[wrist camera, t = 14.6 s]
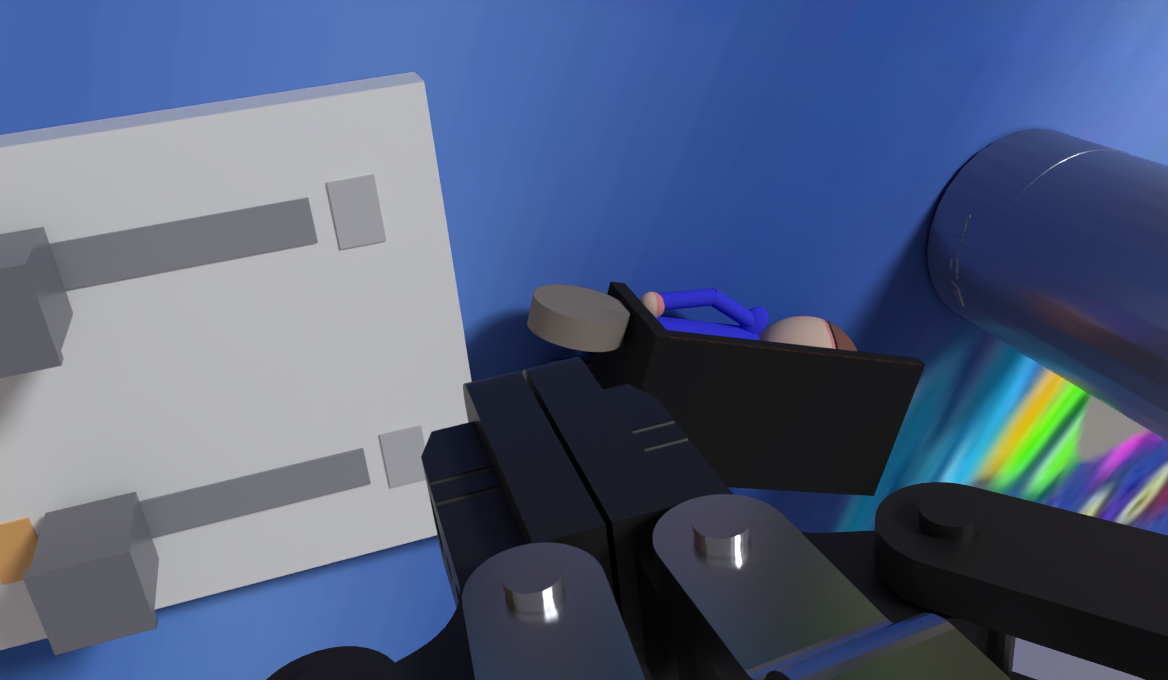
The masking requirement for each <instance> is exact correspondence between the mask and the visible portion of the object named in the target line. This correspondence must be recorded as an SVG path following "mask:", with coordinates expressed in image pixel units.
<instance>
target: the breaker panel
mask: <svg viewBox="0 0 1168 680" xmlns="http://www.w3.org/2000/svg"><path fill="white" fill-rule="evenodd" d="M39 227H44V229H45V232H46V235H47V238H48V241H49V244H50V247H51V250H52V253H53V256H54V258H55V261H56V264H57V267H58V270H59V273H60V276H61V279H62V282H63V285H64V288H65V291H66V294H67V296H68V299H69V302H70V305H71V308H72V311H73V316H72V319H71V322H70V325H69V328H68V331H67V334H66V337H65V340H64V343H63V346H62V349H61V352H62V355H63V358H64V360H63V363H62V366H58V367H53V368H48V369H43V370H38V371H33V372H29V373H24V374H19V375H14V376H9V377H4V378H0V650H4V649H7V648H11V647H15V646H19V645H23V644H26V643H30V642H34V641H38V640H41V639H45V638H47V635H46V633H45V630H44V628H43V626H42V623H41V621H40V618H39V616H38V614H37V611H36V609H35V607H34V604H33V602H32V599H31V597H30V595H29V592H28V590H27V587H26V585H25V583H24V580H23V575H24V572H25V569H27V568H31V564H32V560H33V557H34V553H35V549H36V546H37V542H38V538H39V535H40V531H41V527H42V524H43V520H44V516H45V513H47V512H52V511H56V510H60V509H64V508H69V507H73V506H77V505H81V504H86V503H90V502H94V501H98V500H102V499H107V498H111V497H115V496H119V495H124V494H128V493H132V492H136V493H137V496H138V499H139V502H140V505H141V508H142V510H143V513H144V516H145V519H146V522H147V525H148V528H149V531H150V534H151V537H152V540H153V543H154V546H155V548H156V551H157V554H158V557H159V566H158V577H157V588H156V599H155V609H159V608H163V607H167V606H170V605H174V604H178V603H182V602H185V601H189V600H193V599H197V598H201V597H204V596H208V595H212V594H216V593H220V592H223V591H227V590H231V589H235V588H239V587H242V586H246V585H250V584H254V583H257V582H261V581H265V580H269V579H273V578H276V577H280V576H284V575H288V574H292V573H295V572H299V571H303V570H307V569H311V568H314V567H318V566H322V565H326V564H329V563H333V562H337V561H341V560H345V559H348V558H352V557H356V556H360V555H364V554H367V553H371V552H375V551H379V550H382V549H386V548H390V547H394V546H398V545H401V544H405V543H409V542H413V541H417V540H420V539H424V538H428V537H432V536H436V535H437V530H436V526H435V521H434V516H433V511H432V507H431V502H430V497H429V492H428V488H427V483H426V478H425V473H424V468H423V464H422V459H421V456H422V454H423V451H424V449H425V446H426V444H427V441H428V439H429V437H430V434H431V432H432V431H436V430H440V429H444V428H448V427H452V426H456V425H460V424H464V423H468V417H467V412H466V406H465V401H464V394H463V384H464V383H468V382H472V381H471V375H470V369H469V362H468V356H467V350H466V343H465V337H464V331H463V324H462V318H461V312H460V305H459V299H458V293H457V286H456V280H455V274H454V268H453V261H452V255H451V249H450V242H449V236H448V230H447V223H446V217H445V211H444V204H443V198H442V192H441V186H440V179H439V173H438V167H437V160H436V154H435V148H434V141H433V135H432V129H431V122H430V116H429V110H428V104H427V97H426V91H425V85H424V81H423V80H422V79H421V78H420V77H419V76H418V75H417V74H416V73H415V72H409V73H402V74H395V75H389V76H382V77H376V78H369V79H363V80H356V81H350V82H343V83H337V84H330V85H324V86H317V87H311V88H304V89H297V90H291V91H284V92H278V93H271V94H265V95H258V96H252V97H245V98H239V99H232V100H226V101H219V102H212V103H206V104H199V105H193V106H186V107H180V108H173V109H167V110H160V111H154V112H147V113H141V114H134V115H128V116H121V117H114V118H108V119H101V120H95V121H88V122H82V123H75V124H69V125H62V126H56V127H49V128H43V129H36V130H29V131H23V132H16V133H10V134H3V135H0V234H4V233H10V232H16V231H22V230H27V229H33V228H39Z"/></svg>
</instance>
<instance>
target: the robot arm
mask: <svg viewBox="0 0 1168 680" xmlns="http://www.w3.org/2000/svg"><path fill="white" fill-rule="evenodd" d="M927 252H928V269H929V273H930V277H931V281H932V284H933V287H934V288H935V290H936V292H937V294H938V296H939V297H940V299H941V300H942V301H943V302H944V303H945V304H946V305H947V306H948V307H949V308H950V309H951V310H952V311H953V312H955V313H957V314H958V315H960V316H962V317H963V318H965V319H967V320H968V321H970V322H972V323H973V324H975V325H977V326H978V327H980V328H981V329H983V330H985V331H986V332H988V333H990V334H991V335H993V336H995V337H996V338H998V339H1000V340H1001V341H1003V342H1005V343H1006V344H1008V345H1009V346H1011V347H1012V348H1014V349H1015V350H1017V351H1019V352H1020V353H1022V354H1024V355H1025V356H1027V357H1029V358H1030V359H1032V360H1034V361H1035V362H1037V363H1039V364H1040V365H1042V366H1044V367H1045V368H1047V369H1049V370H1050V371H1052V372H1054V373H1055V374H1057V375H1059V376H1060V377H1062V378H1064V379H1065V380H1067V381H1069V382H1070V383H1072V384H1074V385H1075V386H1077V387H1079V388H1080V389H1082V390H1084V391H1085V392H1087V393H1089V394H1090V395H1092V396H1094V397H1095V398H1097V399H1099V400H1100V401H1102V402H1104V403H1105V404H1107V405H1109V406H1110V407H1112V408H1114V409H1115V410H1117V411H1119V412H1120V413H1122V414H1124V415H1125V416H1127V417H1128V418H1130V419H1132V420H1134V421H1135V422H1137V423H1139V424H1140V425H1142V426H1143V427H1145V428H1147V429H1148V430H1150V431H1152V432H1153V433H1155V434H1157V435H1158V436H1160V437H1162V438H1163V439H1165V440H1167V441H1168V166H1166V165H1162V164H1159V163H1156V162H1153V161H1150V160H1146V159H1143V158H1140V157H1137V156H1133V155H1130V154H1128V153H1125V152H1122V151H1118V150H1115V149H1112V148H1108V147H1105V146H1102V145H1099V144H1095V143H1092V142H1089V141H1086V140H1083V139H1079V138H1076V137H1073V136H1070V135H1066V134H1063V133H1060V132H1057V131H1054V130H1044V129H1031V130H1025V131H1020V132H1015V133H1013V134H1011V135H1008V136H1006V137H1003V138H1001V139H999V140H997V141H995V142H994V143H992V144H991V145H989V146H988V147H986V148H985V149H983V150H982V151H980V152H979V153H978V154H977V155H976V156H975V157H973V158H972V159H971V160H970V161H969V162H968V163H967V164H966V165H965V166H964V167H963V168H962V169H961V171H960V172H959V173H958V175H957V176H956V177H955V178H954V180H953V181H952V182H951V184H950V185H949V186H948V188H947V190H946V192H945V194H944V196H943V198H942V199H941V201H940V203H939V205H938V207H937V210H936V213H935V216H934V219H933V222H932V225H931V228H930V234H929V241H928V247H927ZM463 394H464V401H465V406H466V412H467V417H468V423H464V424H460V425H456V426H452V427H448V428H444V429H440V430H436V431H432V432H431V434H430V437H429V439H428V441H427V444H426V446H425V449H424V451H423V454H422V456H421V459H422V464H423V468H424V473H425V478H426V483H427V488H428V492H429V497H430V502H431V507H432V511H433V516H434V521H435V526H436V530H437V535H438V540H439V545H440V549H441V554H442V558H443V562H444V565H445V569H446V572H447V576H448V579H449V583H450V586H451V590H452V593H453V597H454V600H455V604H456V607H457V609H456V611H455V613H454V615H453V617H452V618H451V620H450V621H449V622H448V624H447V625H446V627H445V628H444V629H443V630H442V631H441V632H440V633H439V634H438V635H437V636H436V637H435V638H433V639H432V640H431V641H430V642H428V643H427V644H426V645H424V646H423V647H421V648H420V649H418V650H417V651H415V652H413V653H412V654H410V655H408V656H406V657H405V658H403V659H401V660H399V661H397V662H396V663H395V662H394V661H392V660H391V659H390V658H389V657H388V656H386V655H384V654H382V653H380V652H378V651H375V650H372V649H369V648H363V647H356V646H342V647H334V648H328V649H324V650H320V651H316V652H313V653H310V654H308V655H305V656H302V657H300V658H298V659H296V660H294V661H292V662H290V663H288V664H287V665H285V666H284V667H282V668H280V669H279V670H277V671H276V672H275V673H274V674H272V675H271V676H270V677H269V678H267V679H266V680H1036V679H1033V678H1030V677H1028V676H1025V675H1022V674H1019V673H1016V672H1013V671H1012V667H1013V657H1014V647H1015V638H1016V637H1017V638H1020V639H1023V640H1026V641H1029V642H1032V643H1035V644H1038V645H1041V646H1045V647H1047V648H1051V649H1054V650H1057V651H1060V652H1063V653H1066V654H1069V655H1072V656H1076V657H1078V658H1082V659H1085V660H1088V661H1091V662H1094V663H1097V664H1100V665H1103V666H1107V667H1109V668H1113V669H1116V670H1119V671H1122V672H1125V673H1128V674H1131V675H1134V676H1137V677H1140V678H1142V679H1145V680H1168V536H1167V535H1163V534H1159V533H1155V532H1151V531H1147V530H1143V529H1139V528H1135V527H1131V526H1127V525H1123V524H1119V523H1115V522H1111V521H1107V520H1103V519H1099V518H1095V517H1091V516H1087V515H1083V514H1079V513H1075V512H1071V511H1067V510H1063V509H1059V508H1055V507H1051V506H1047V505H1043V504H1039V503H1036V502H1032V501H1028V500H1024V499H1020V498H1016V497H1012V496H1008V495H1004V494H1000V493H996V492H992V491H988V490H984V489H980V488H976V487H972V486H967V485H962V484H956V483H946V482H932V483H921V484H916V485H911V486H908V487H905V488H902V489H900V490H897V491H895V492H893V493H892V494H890V495H889V496H888V497H886V498H885V499H884V500H883V501H882V502H881V503H880V505H879V507H878V509H877V511H876V516H875V531H855V532H836V533H807V532H800V531H799V530H798V529H797V528H796V527H795V526H794V525H793V524H792V523H791V522H790V521H789V520H788V519H787V518H786V517H785V516H784V515H783V514H782V513H781V512H779V511H778V510H777V509H776V508H774V507H772V506H771V505H769V504H767V503H765V502H763V501H760V500H758V499H754V498H750V497H747V496H740V495H733V494H732V493H731V491H730V490H729V489H728V487H727V486H726V485H725V484H724V482H723V481H722V480H721V479H720V477H719V476H718V475H717V473H716V472H715V471H714V470H713V468H712V467H711V466H710V464H709V463H708V462H707V461H706V459H705V458H704V457H703V456H702V454H701V453H700V452H699V450H698V449H697V448H696V447H695V445H694V444H693V443H692V442H691V441H688V437H687V435H686V434H685V433H684V431H683V430H682V429H681V428H680V426H679V425H678V424H675V422H674V419H673V417H672V416H671V415H670V414H669V412H668V411H667V410H666V408H665V407H664V406H663V405H662V403H661V402H660V401H659V400H658V398H656V397H654V396H652V395H650V394H648V393H646V392H644V391H642V390H640V389H638V388H635V387H633V386H631V385H629V384H625V385H620V386H616V387H612V388H608V389H604V390H603V389H602V388H601V386H600V385H599V383H598V382H597V380H596V379H595V378H594V376H593V375H592V373H591V372H590V370H589V369H588V367H587V366H586V365H585V363H584V362H583V360H582V359H581V358H580V357H575V358H570V359H566V360H562V361H557V362H553V363H549V364H545V365H540V366H536V367H532V368H528V369H524V370H523V372H522V373H521V372H520V371H516V372H511V373H507V374H503V375H498V376H494V377H490V378H486V379H481V380H477V381H473V382H468V383H464V384H463Z"/></svg>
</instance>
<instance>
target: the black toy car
mask: <svg viewBox="0 0 1168 680" xmlns="http://www.w3.org/2000/svg"><path fill="white" fill-rule="evenodd" d="M701 306H712V307H714V308H715V309H717V310H718V311H720V312H722V313H723V314H725V315H726V316H728V317H729V318H731V319H733V320H734V321H736V322H737V323H739V324H740V326H737V325H728V324H720V323H711V322H703V321H694V320H686V319H677V318H669V317H660V316H661V315H662V314H663V312H664V310H670V309H680V308H691V307H701ZM768 323H769V314H768V312H767V310H766V309H764V308H762V307H754V308H752V309H750V310H747V309H746V308H744V307H743V306H741V305H739V304H738V303H736V302H735V301H733V300H732V299H730V298H729V297H727V296H726V295H724V294H722V293H721V292H719V291H718V290H716V289H714V288H711V289H701V290H691V291H680V292H670V293H659V294H658V293H656V292H648V293H645V294H644V295H643V296H642V297H641V298H640V300H639V299H638V298H637V297H636V296H635V294H634V293H633V292H632V291H631V290H630V289H629V288H628V287H627V286H626V284H625V283H617V282H610V286H609V290H608V294H604V293H601V292H598V291H595V290H592V289H588V288H583V287H578V286H571V285H546V286H542V287H539V288H537V289H536V290H535V291H534V294H533V299H532V303H531V308H530V312H529V317H528V321H527V325H528V327H529V329H530V330H531V331H532V332H533V333H534V334H536V335H537V336H539V337H540V338H542V339H544V340H546V341H548V342H551V343H553V344H556V345H559V346H562V347H566V348H570V349H574V350H580V351H588V352H593V353H592V357H591V361H590V364H586V363H585V365H586V366H587V367H588V369H589V370H590V372H591V373H592V375H593V376H594V378H595V379H596V380H597V382H598V383H599V385H600V386H601V388H602V389H603V390H604V389H608V388H612V387H616V386H620V385H625V384H629V385H631V386H633V387H635V388H638V389H640V390H642V391H644V392H646V393H648V394H650V395H652V396H654V397H656V398H658V400H659V401H660V402H661V403H662V405H663V406H664V407H665V408H666V410H667V411H668V412H669V414H670V415H671V416H672V417H673V419H674V422H675V424H678V425H679V426H680V428H681V429H682V430H683V431H684V433H685V434H686V435H687V437H688V441H691V442H692V443H693V444H694V445H695V447H696V448H697V449H698V450H699V452H700V453H701V454H702V456H703V457H704V458H705V459H706V461H707V462H708V463H709V464H710V466H711V467H712V468H713V470H714V471H715V472H716V473H717V475H718V476H719V477H720V479H721V480H722V481H723V482H724V484H725V485H726V486H727V487H736V488H752V489H769V490H786V491H802V492H819V493H836V494H852V495H869V496H874V494H875V491H876V489H877V486H878V484H879V481H880V479H881V476H882V473H883V471H884V468H885V466H886V463H887V461H888V458H889V456H890V453H891V450H892V448H893V445H894V443H895V440H896V438H897V435H898V433H899V430H900V427H901V425H902V422H903V420H904V417H905V415H906V412H907V410H908V407H909V404H910V402H911V399H912V397H913V394H914V392H915V389H916V387H917V384H918V381H919V379H920V376H921V374H922V371H923V369H924V366H925V364H923V363H922V362H921V361H920V360H919V359H917V358H913V357H904V356H895V355H886V354H877V353H868V352H859V351H857V349H856V347H855V345H854V344H853V342H852V341H851V339H850V338H849V337H848V336H847V334H845V333H844V332H843V331H842V330H841V329H840V328H838V327H837V326H836V325H834V324H832V323H830V322H828V321H826V320H824V319H820V318H817V317H811V316H796V317H790V318H786V319H783V320H780V321H778V322H776V323H774V324H773V325H771V326H769V327H768V328H767V329H766V327H767V325H768ZM553 362H557V360H552V361H551V362H549V363H553ZM549 363H547V364H549Z"/></svg>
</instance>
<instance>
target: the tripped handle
mask: <svg viewBox="0 0 1168 680" xmlns="http://www.w3.org/2000/svg"><path fill="white" fill-rule="evenodd" d="M72 316H73V311H72V308H71V305H70V302H69V299H68V296H67V294H66V291H65V288H64V285H63V282H62V279H61V276H60V273H59V270H58V267H57V264H56V261H55V258H54V256H53V253H52V250H51V247H50V244H49V241H48V238H47V235H46V232H45V229H44V227H39V228H33V229H27V230H22V231H16V232H10V233H4V234H0V378H4V377H9V376H14V375H19V374H24V373H29V372H33V371H38V370H43V369H48V368H53V367H58V366H62V363H63V360H64V358H63V355H62V352H61V349H62V346H63V343H64V340H65V337H66V334H67V331H68V328H69V325H70V322H71V319H72Z"/></svg>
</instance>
